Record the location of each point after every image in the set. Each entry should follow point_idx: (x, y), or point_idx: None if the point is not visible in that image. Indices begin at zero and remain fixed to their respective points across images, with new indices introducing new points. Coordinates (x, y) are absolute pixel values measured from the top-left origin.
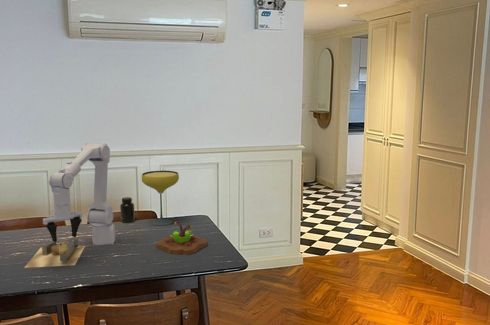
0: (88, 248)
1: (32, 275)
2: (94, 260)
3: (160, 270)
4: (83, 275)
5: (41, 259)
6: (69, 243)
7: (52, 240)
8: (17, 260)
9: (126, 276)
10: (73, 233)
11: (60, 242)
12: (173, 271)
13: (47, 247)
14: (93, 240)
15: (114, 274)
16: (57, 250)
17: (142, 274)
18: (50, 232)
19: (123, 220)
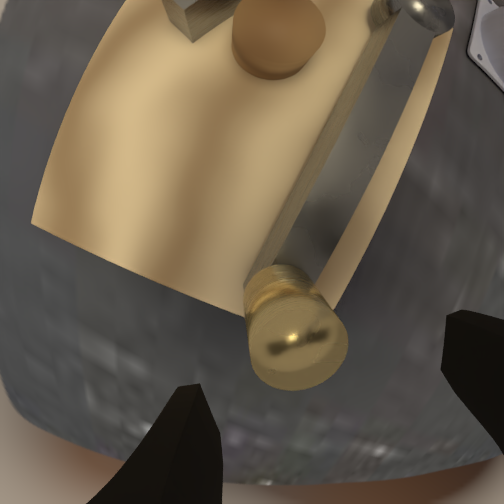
0: (455, 53)
1: (78, 323)
2: (431, 274)
3: (484, 442)
4: (307, 433)
5: (139, 108)
6: (390, 66)
7: (173, 395)
8: (40, 27)
9: (410, 466)
10: (469, 373)
11: (281, 334)
12: (491, 450)
13: (199, 9)
14: (501, 40)
15: (397, 450)
16: (272, 68)
17: (444, 460)
18: (130, 487)
19: None
